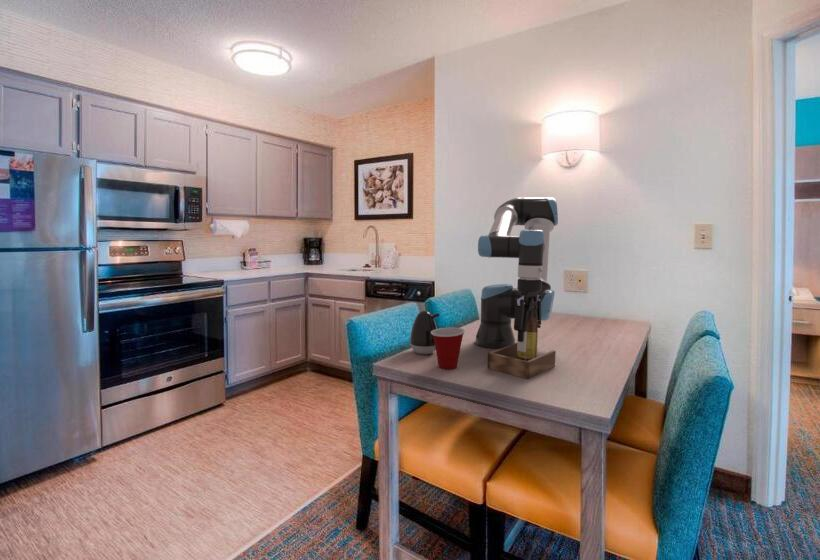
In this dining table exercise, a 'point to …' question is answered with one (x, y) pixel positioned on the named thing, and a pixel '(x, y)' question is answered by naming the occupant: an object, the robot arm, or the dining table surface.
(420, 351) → the pump dispenser
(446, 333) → the plastic cup
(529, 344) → the sauce bottle
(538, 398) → the dining table surface
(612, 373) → the dining table surface
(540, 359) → the frame
